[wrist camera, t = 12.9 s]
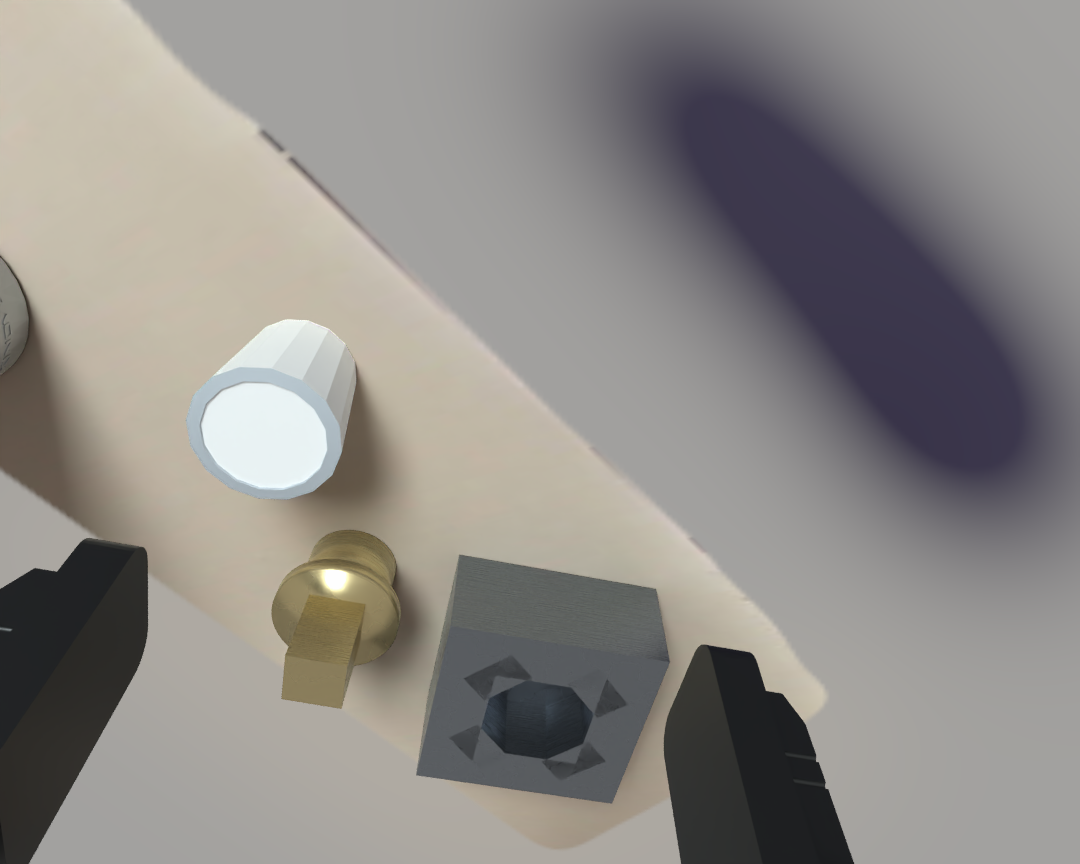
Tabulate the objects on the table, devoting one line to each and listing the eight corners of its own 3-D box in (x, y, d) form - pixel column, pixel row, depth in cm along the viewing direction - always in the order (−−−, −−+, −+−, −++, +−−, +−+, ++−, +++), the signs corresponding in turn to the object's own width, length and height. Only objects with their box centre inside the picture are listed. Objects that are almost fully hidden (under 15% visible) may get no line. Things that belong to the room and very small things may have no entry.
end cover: (292, 598, 51) (241, 718, 43) (299, 507, 48) (247, 619, 39) (403, 617, 51) (374, 740, 43) (418, 529, 48) (390, 644, 40)
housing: (427, 697, 55) (416, 775, 50) (459, 554, 49) (450, 625, 44) (604, 725, 56) (611, 803, 51) (656, 589, 51) (669, 662, 45)
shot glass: (383, 418, 45) (359, 491, 39) (258, 435, 45) (215, 510, 39) (349, 297, 41) (317, 357, 35) (215, 317, 42) (161, 379, 36)
